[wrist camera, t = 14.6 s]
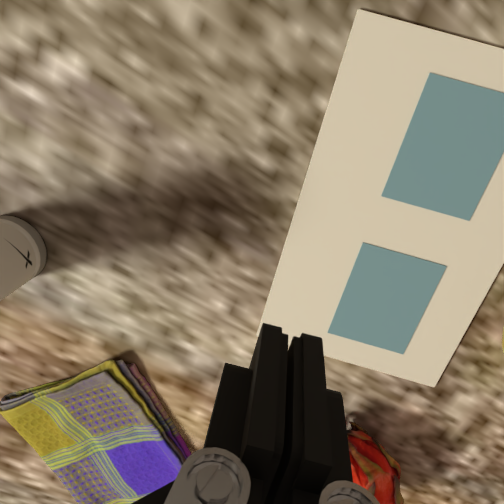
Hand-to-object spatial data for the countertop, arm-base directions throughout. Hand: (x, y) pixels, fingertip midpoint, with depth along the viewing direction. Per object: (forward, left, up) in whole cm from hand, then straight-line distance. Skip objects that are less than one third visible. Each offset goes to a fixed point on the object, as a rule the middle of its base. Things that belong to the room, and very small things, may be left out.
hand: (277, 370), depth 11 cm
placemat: (+1, +9, -23) cm, 25 cm away
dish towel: (+35, -11, -24) cm, 44 cm away
